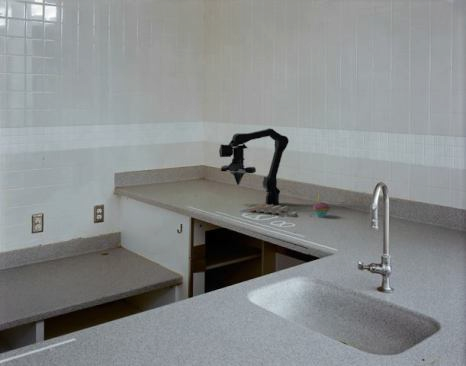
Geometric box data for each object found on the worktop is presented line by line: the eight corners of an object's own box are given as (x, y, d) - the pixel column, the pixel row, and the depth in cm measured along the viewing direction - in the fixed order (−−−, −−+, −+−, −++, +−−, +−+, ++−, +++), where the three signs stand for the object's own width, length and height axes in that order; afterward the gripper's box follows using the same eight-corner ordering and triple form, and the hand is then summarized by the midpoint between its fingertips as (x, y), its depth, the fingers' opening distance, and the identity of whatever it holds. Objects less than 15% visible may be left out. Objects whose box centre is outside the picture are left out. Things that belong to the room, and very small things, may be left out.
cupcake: (319, 218, 279) (320, 195, 277) (309, 215, 287) (310, 192, 285) (332, 217, 283) (333, 194, 281) (322, 213, 290) (323, 191, 289)
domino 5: (278, 212, 284) (293, 213, 281) (282, 210, 289) (297, 212, 285) (278, 215, 284) (293, 217, 281) (282, 213, 289) (297, 215, 285)
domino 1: (248, 209, 292) (261, 204, 288) (252, 207, 296) (265, 203, 292) (249, 212, 292) (262, 207, 288) (253, 210, 296) (266, 205, 292)
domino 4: (271, 211, 286) (284, 207, 282) (274, 209, 290) (288, 205, 287) (272, 214, 286) (285, 210, 282) (275, 212, 290) (289, 208, 287)
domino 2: (255, 210, 290) (269, 205, 286) (259, 208, 294) (272, 204, 291) (256, 212, 290) (270, 208, 286) (260, 211, 294) (273, 206, 291)
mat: (238, 212, 292) (238, 211, 292) (246, 209, 300) (246, 208, 300) (283, 217, 281) (283, 216, 281) (289, 214, 289) (289, 213, 289)
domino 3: (263, 210, 288) (276, 206, 284) (267, 209, 292) (280, 204, 289) (264, 213, 288) (277, 209, 284) (268, 211, 292) (281, 207, 289)
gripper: (216, 157, 301) (216, 185, 304) (248, 159, 294) (248, 188, 296) (225, 155, 311) (225, 182, 314) (256, 157, 304) (255, 185, 306)
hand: (238, 184), depth 307 cm, fingers closed
